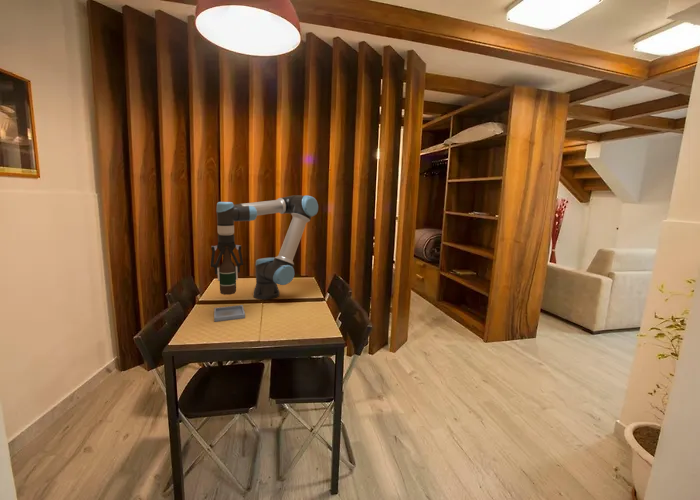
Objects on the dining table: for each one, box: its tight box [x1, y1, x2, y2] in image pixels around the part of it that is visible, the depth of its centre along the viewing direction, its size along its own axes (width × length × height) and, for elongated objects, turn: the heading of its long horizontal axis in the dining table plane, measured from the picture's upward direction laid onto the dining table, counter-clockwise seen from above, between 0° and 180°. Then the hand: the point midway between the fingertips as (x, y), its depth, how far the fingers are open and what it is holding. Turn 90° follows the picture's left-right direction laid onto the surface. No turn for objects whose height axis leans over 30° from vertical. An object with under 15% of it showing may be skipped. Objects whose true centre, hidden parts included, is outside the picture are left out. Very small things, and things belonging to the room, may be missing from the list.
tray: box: [213, 304, 246, 323], centre depth 158 cm, size 14×14×2 cm
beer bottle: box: [219, 246, 237, 296], centre depth 154 cm, size 8×8×24 cm
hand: (227, 279), depth 155 cm, fingers closed on beer bottle, 8 cm apart
